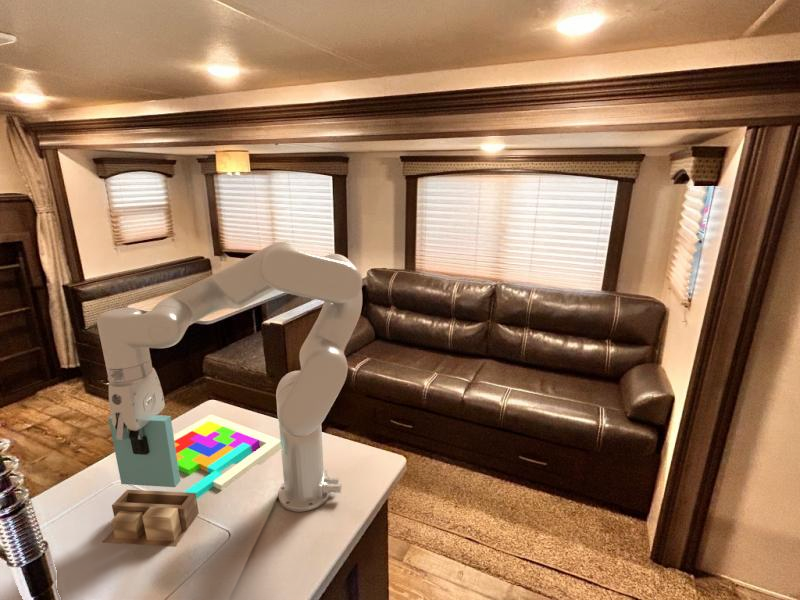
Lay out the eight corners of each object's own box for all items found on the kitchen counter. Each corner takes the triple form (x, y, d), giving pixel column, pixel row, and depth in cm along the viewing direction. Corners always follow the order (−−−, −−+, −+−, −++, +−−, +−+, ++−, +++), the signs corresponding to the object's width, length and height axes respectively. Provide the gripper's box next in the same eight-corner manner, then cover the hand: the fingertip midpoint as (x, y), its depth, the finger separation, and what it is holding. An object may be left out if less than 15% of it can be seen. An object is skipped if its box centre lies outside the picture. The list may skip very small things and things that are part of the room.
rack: (199, 516, 95) (195, 492, 93) (176, 550, 86) (171, 524, 85) (132, 513, 96) (127, 489, 94) (102, 545, 87) (96, 520, 86)
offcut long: (181, 531, 90) (177, 508, 88) (174, 541, 87) (170, 517, 86) (154, 529, 90) (150, 506, 89) (146, 539, 88) (142, 516, 86)
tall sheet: (180, 480, 91) (170, 415, 87) (175, 487, 89) (164, 421, 85) (127, 477, 92) (115, 413, 87) (121, 484, 90) (108, 418, 85)
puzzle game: (212, 422, 134) (113, 478, 108) (210, 414, 133) (111, 468, 107) (282, 449, 120) (189, 520, 95) (282, 440, 119) (187, 509, 94)
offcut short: (145, 529, 90) (142, 512, 89) (137, 539, 88) (134, 521, 87) (123, 528, 91) (120, 511, 89) (115, 537, 88) (111, 520, 87)
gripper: (120, 389, 75) (137, 475, 80) (171, 354, 91) (183, 429, 96) (80, 388, 76) (100, 474, 81) (138, 354, 91) (152, 428, 96)
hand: (145, 449), depth 88 cm, fingers closed on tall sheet, 2 cm apart
